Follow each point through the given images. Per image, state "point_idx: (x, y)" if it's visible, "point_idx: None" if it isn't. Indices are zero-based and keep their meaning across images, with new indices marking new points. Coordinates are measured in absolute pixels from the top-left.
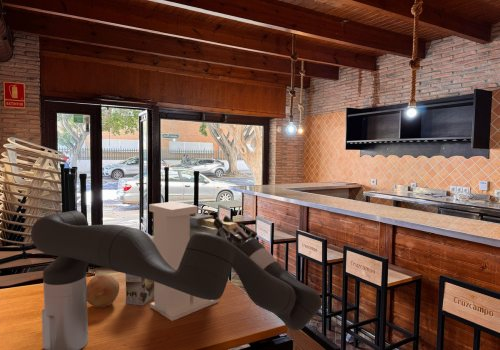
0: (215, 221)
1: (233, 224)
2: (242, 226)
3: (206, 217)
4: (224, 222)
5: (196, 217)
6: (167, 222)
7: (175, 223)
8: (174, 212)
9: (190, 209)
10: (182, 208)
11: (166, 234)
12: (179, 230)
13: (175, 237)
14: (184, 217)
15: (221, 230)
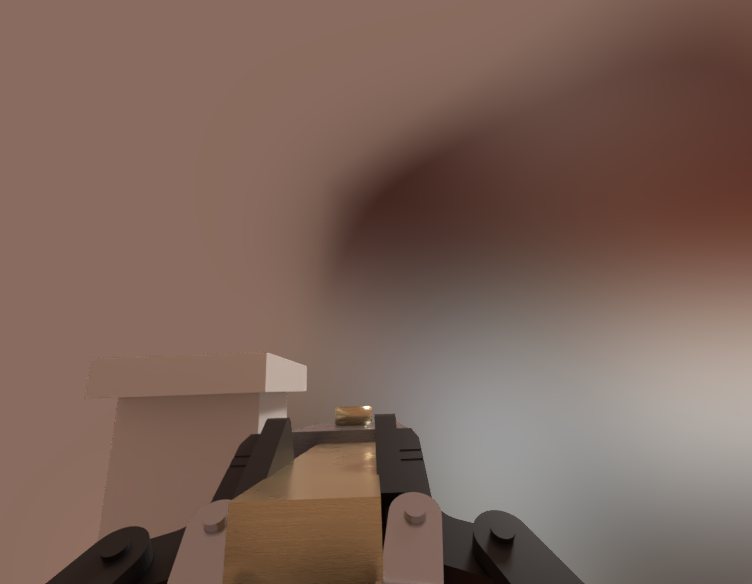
0: (240, 448)
1: (310, 508)
2: (502, 567)
3: (355, 432)
4: (325, 469)
5: (314, 429)
6: (118, 435)
7: (164, 446)
8: (108, 374)
9: (216, 367)
10: (162, 356)
11: (104, 504)
12: (186, 492)
13: (157, 532)
14: (225, 419)
15: (96, 574)
